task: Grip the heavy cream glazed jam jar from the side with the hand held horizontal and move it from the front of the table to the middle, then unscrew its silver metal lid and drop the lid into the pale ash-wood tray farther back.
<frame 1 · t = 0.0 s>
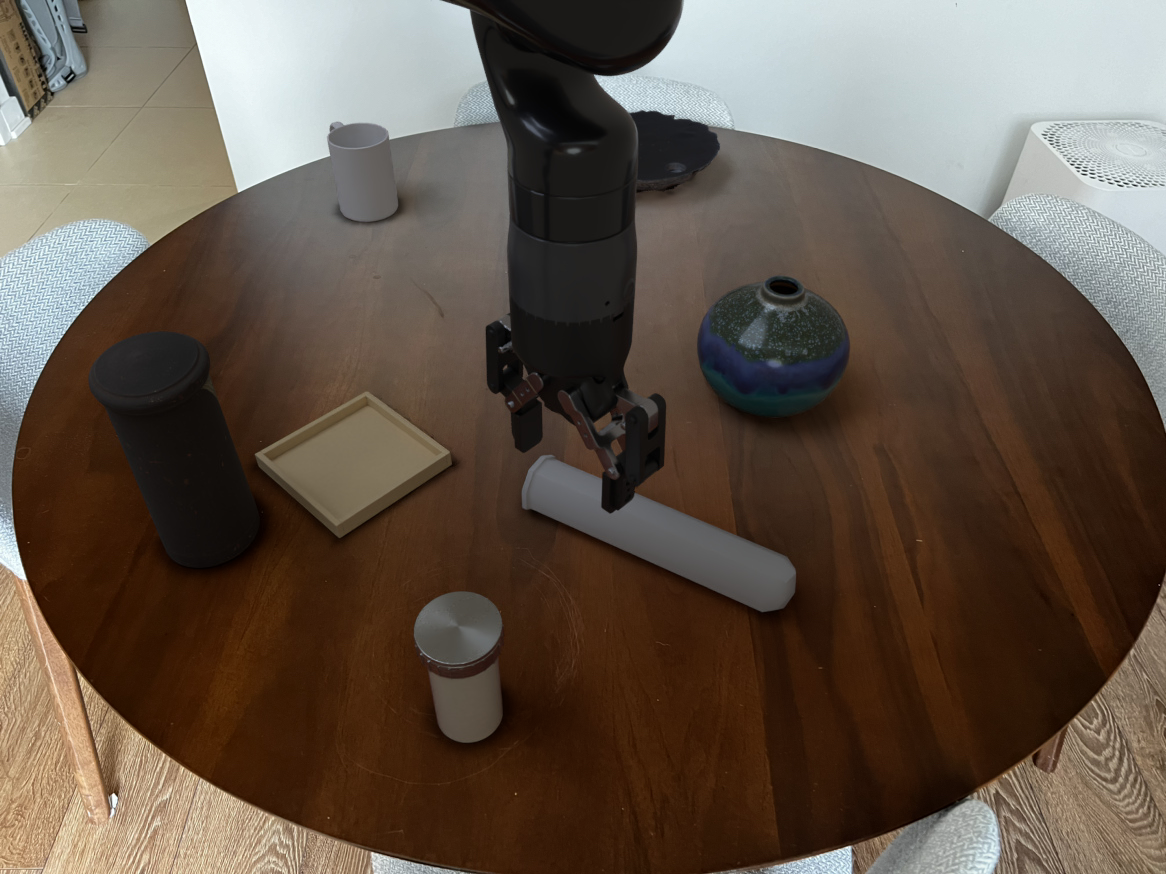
hand: (571, 474, 65), 16 cm above the table, tool pointing down, fingers open, 8 cm apart
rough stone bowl: (642, 174, 134), on the table
lid: (458, 629, 62), point 11 cm above the table, screwed on, not yet turned
container: (214, 534, 82), on the table
vase: (763, 393, 97), on the table
jar: (469, 712, 69), on the table
tube: (656, 552, 81), on the table
tray: (355, 465, 88), on the table
mug: (362, 203, 127), on the table
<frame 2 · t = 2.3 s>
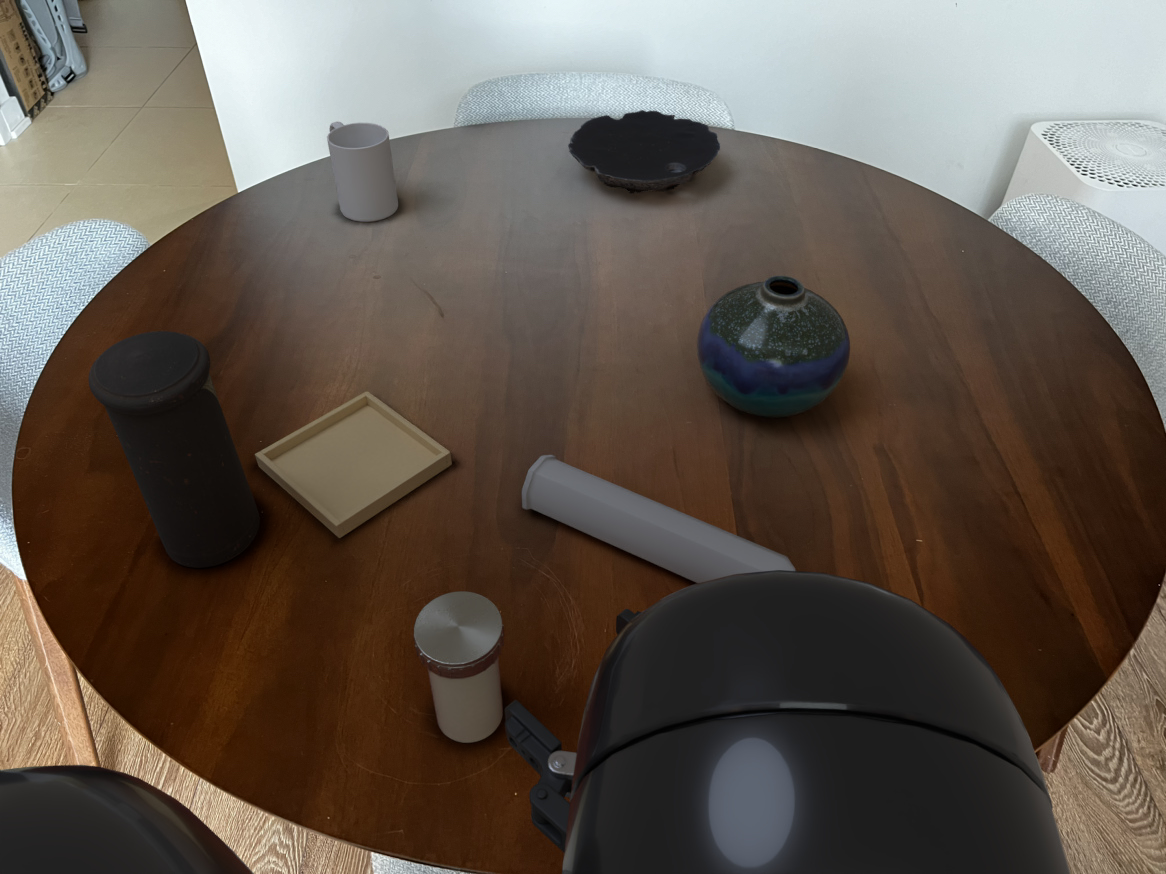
hand: (567, 664, 51), 18 cm above the table, tool horizontal, fingers open, 8 cm apart
nothing on the table moved.
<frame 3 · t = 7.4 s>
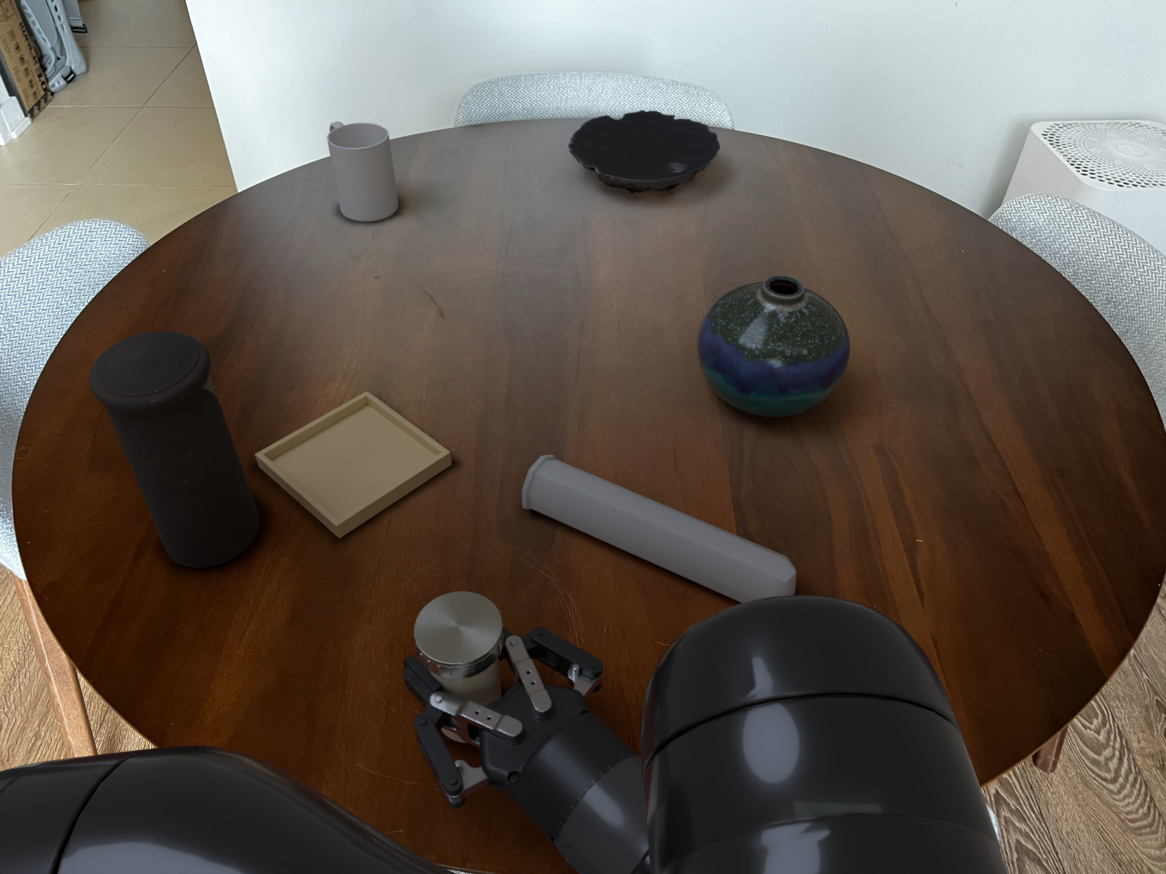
hand: (440, 641, 66), 7 cm above the table, tool horizontal, fingers closed on jar, 5 cm apart
jar: (469, 712, 69), on the table, touching gripper
everything else where it was.
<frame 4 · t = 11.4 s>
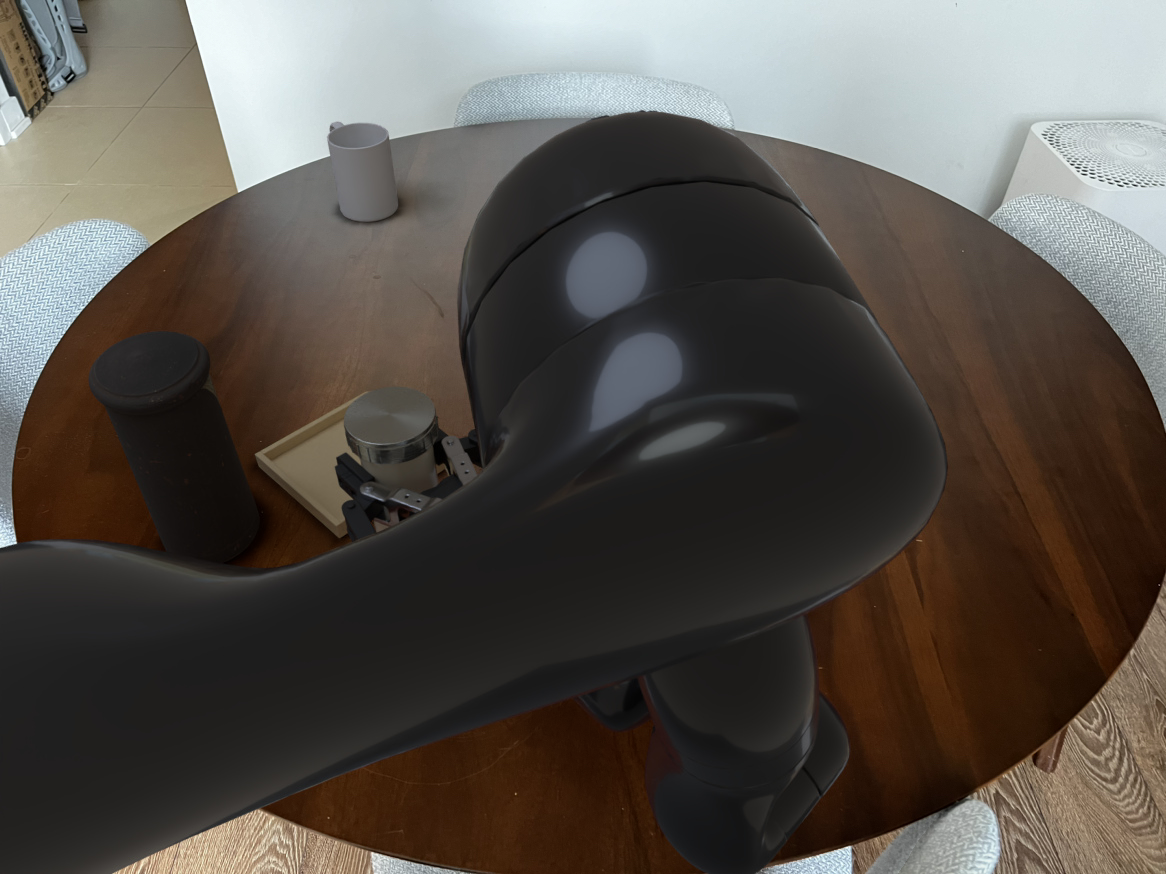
hand: (377, 445, 64), 18 cm above the table, tool horizontal, fingers closed on jar, 5 cm apart
lid: (390, 418, 60), point 22 cm above the table, screwed on, not yet turned
jar: (410, 528, 67), point 12 cm above the table, touching gripper
everything else where it was.
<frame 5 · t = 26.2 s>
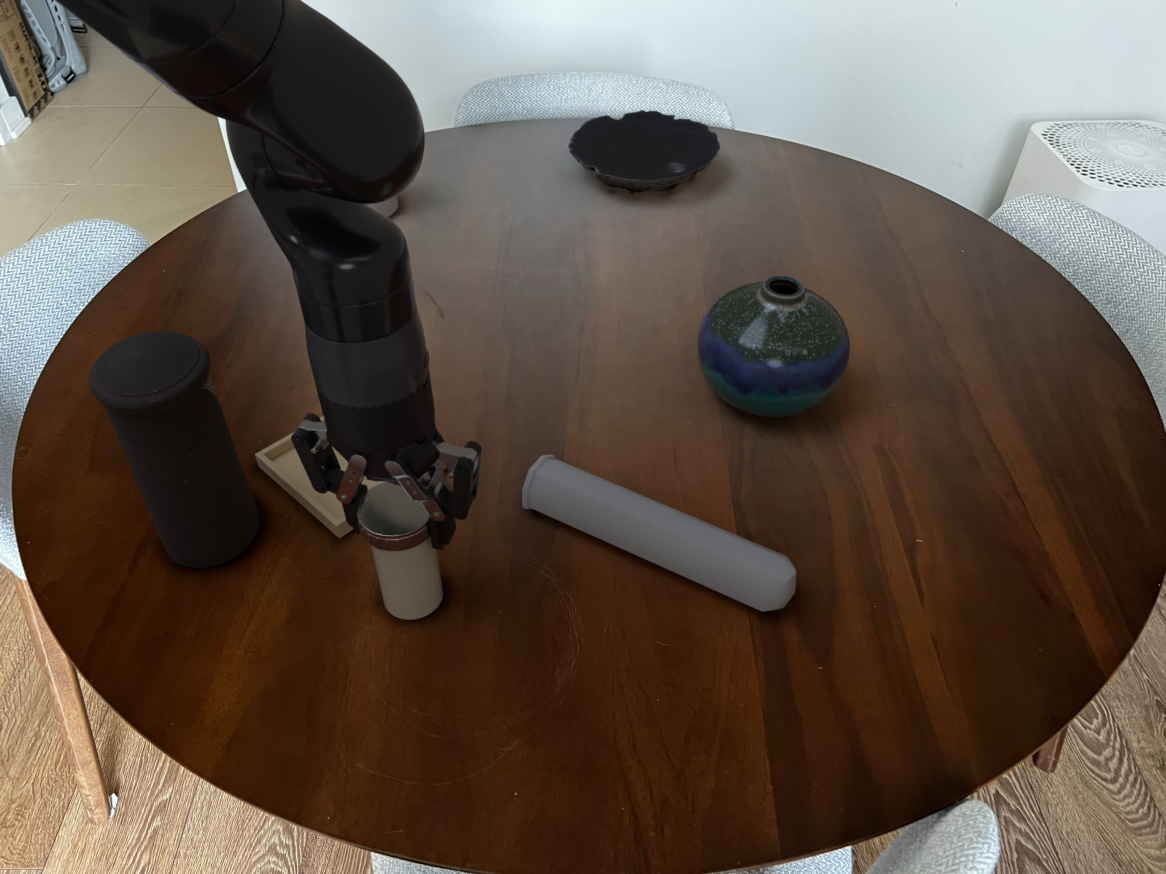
hand: (403, 533, 72), 8 cm above the table, tool pointing down, fingers closed on lid, 6 cm apart
lid: (396, 510, 70), point 11 cm above the table, screwed on, not yet turned, touching gripper
jar: (413, 595, 77), on the table
everything else where it was.
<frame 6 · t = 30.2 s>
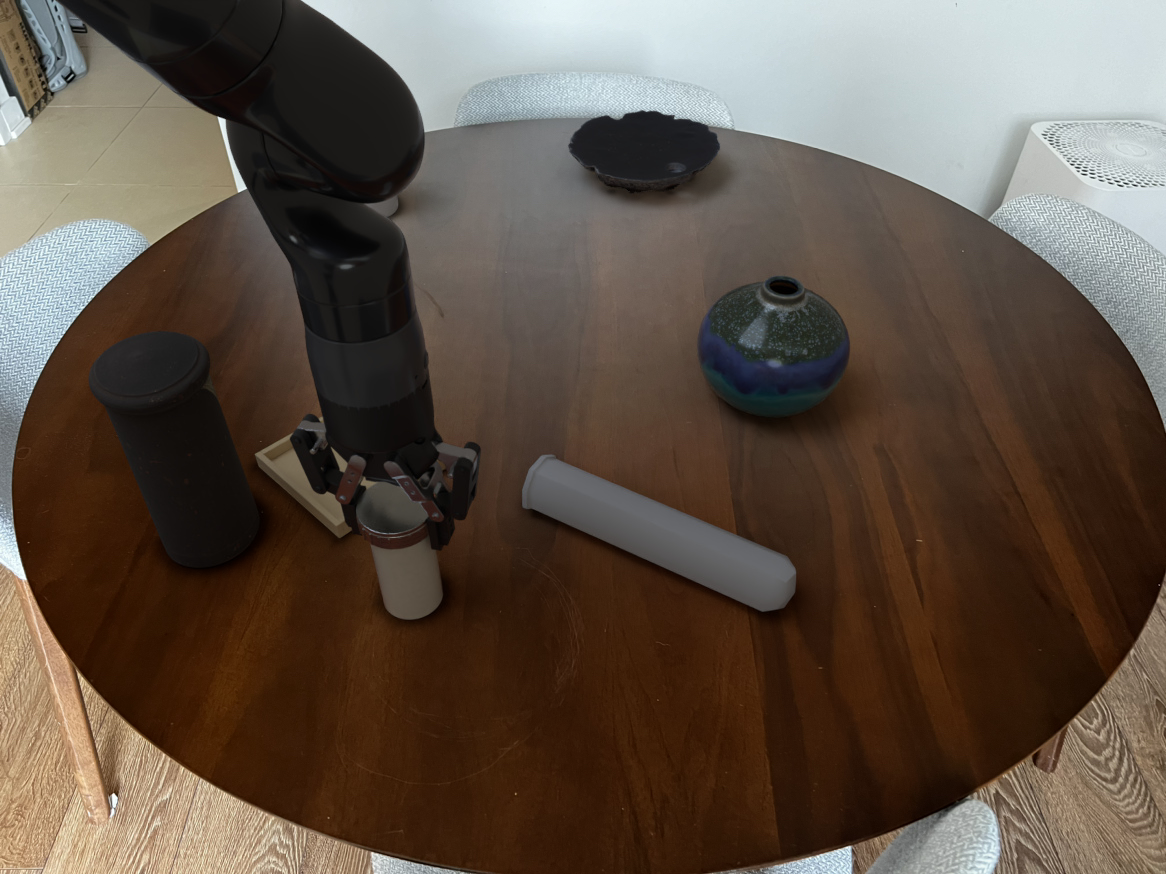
hand: (402, 534, 72), 8 cm above the table, tool pointing down, fingers closed on lid, 6 cm apart
lid: (396, 508, 69), point 11 cm above the table, turned 64° so far, risen 0.2 cm, still on its thread, touching gripper
everything else where it was.
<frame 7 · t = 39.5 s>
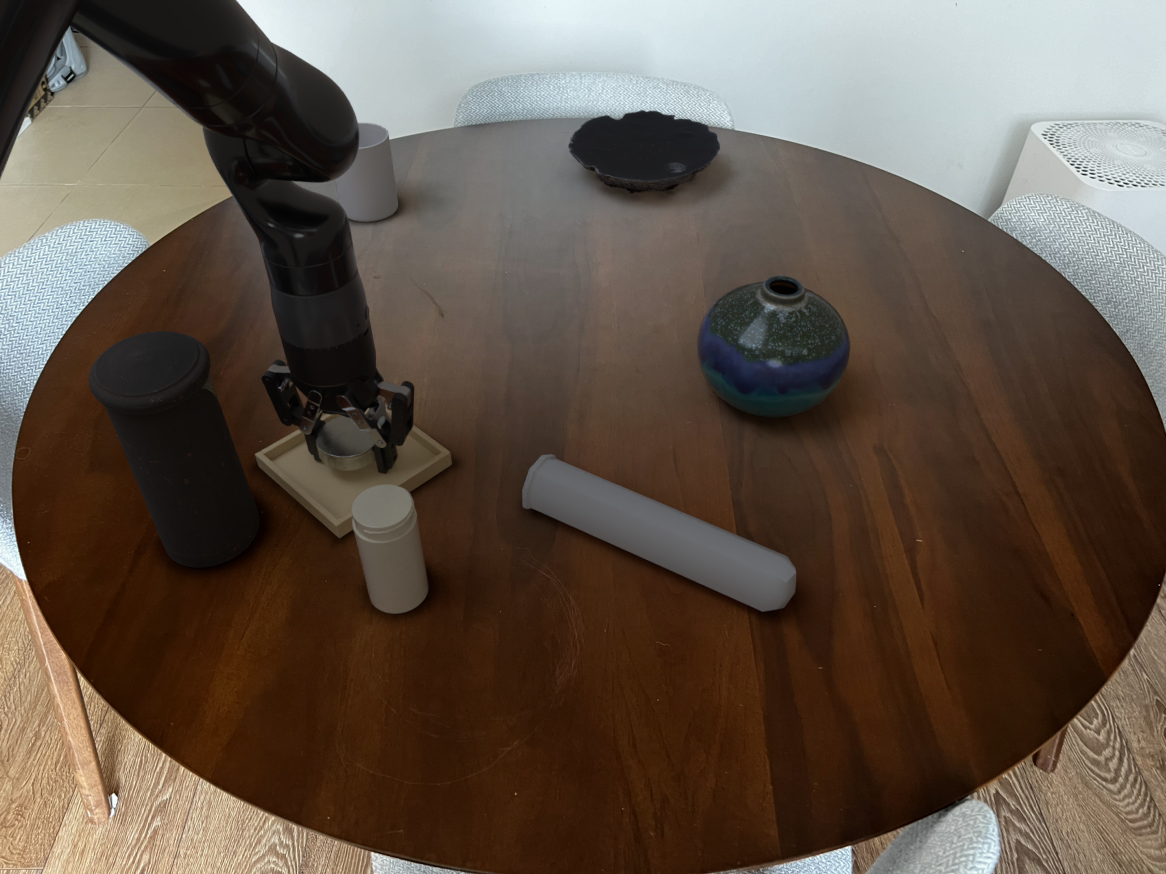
hand: (355, 461, 88), 1 cm above the table, tool pointing down, fingers closed on lid, 6 cm apart
lid: (349, 438, 86), point 4 cm above the table, off its thread, touching gripper
jar: (398, 589, 77), on the table
everything else where it was.
when the fingers open (1 cm above the table, at t = 46.0 s): lid drops 2 cm, resting on tray.
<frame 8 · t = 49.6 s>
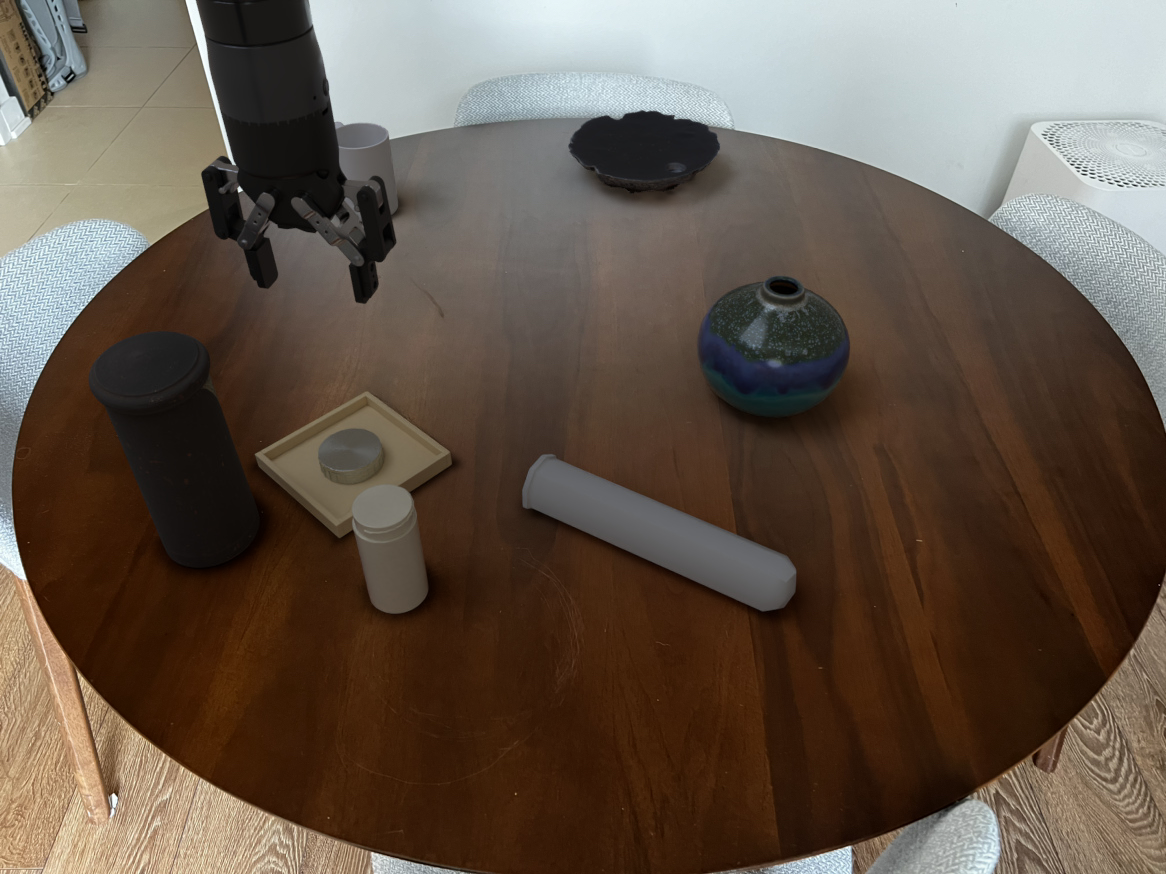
hand: (317, 290, 75), 20 cm above the table, tool pointing down, fingers open, 8 cm apart
lid: (350, 452, 87), point 2 cm above the table, off its thread, touching tray
everything else where it was.
at the end: lid came off its thread; lid inside the target area in the tray (0.2 cm from its centre), point 1.9 cm above the tray's base; jar inside the target area (1.2 cm from its centre), on the table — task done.
